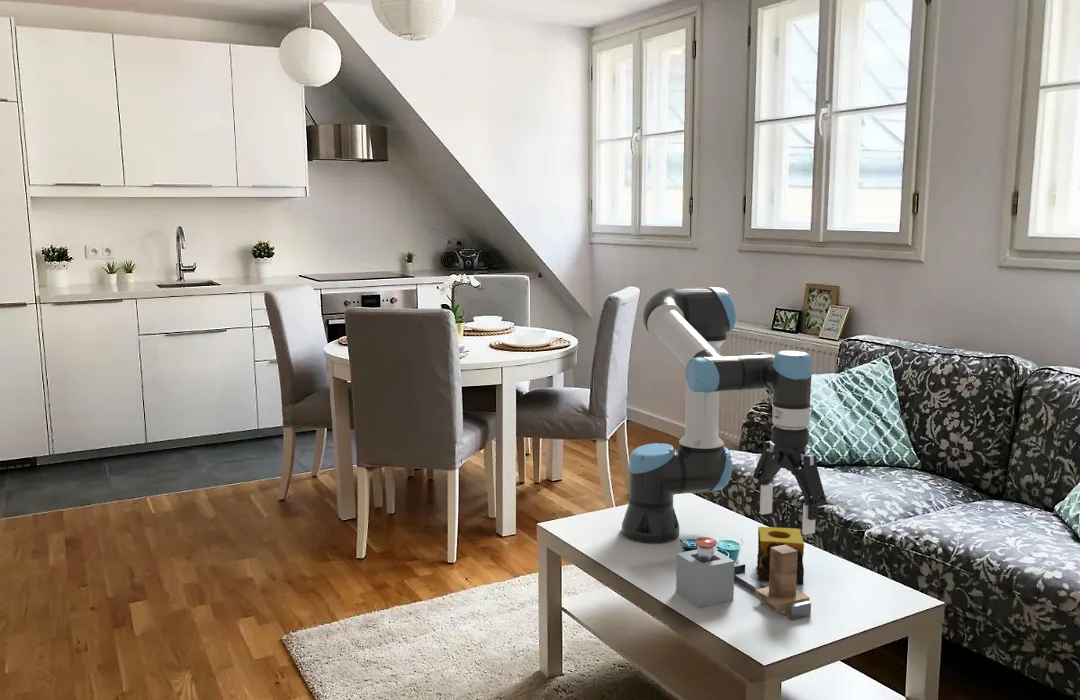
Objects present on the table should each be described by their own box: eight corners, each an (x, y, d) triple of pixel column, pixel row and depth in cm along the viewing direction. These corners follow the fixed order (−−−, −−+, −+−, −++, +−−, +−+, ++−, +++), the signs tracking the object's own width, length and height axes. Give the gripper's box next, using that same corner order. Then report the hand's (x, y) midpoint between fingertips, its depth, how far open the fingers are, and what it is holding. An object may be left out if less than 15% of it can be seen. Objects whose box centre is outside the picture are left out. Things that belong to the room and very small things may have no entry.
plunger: (691, 559, 197) (691, 538, 196) (707, 556, 199) (708, 535, 198) (702, 566, 193) (703, 545, 192) (719, 563, 195) (720, 542, 194)
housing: (676, 591, 200) (676, 553, 198) (709, 584, 203) (710, 546, 202) (698, 607, 191) (699, 568, 190) (733, 600, 195) (734, 561, 194)
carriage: (755, 601, 194) (756, 545, 192) (784, 595, 197) (786, 539, 195) (778, 616, 187) (781, 558, 184) (809, 609, 190) (811, 552, 188)
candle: (803, 586, 202) (805, 544, 201) (758, 582, 204) (759, 541, 203) (800, 568, 212) (801, 528, 211) (756, 565, 214) (757, 525, 213)
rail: (724, 578, 206) (725, 566, 206) (742, 575, 208) (742, 562, 208) (791, 620, 185) (792, 607, 185) (810, 616, 187) (811, 602, 187)
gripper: (738, 415, 195) (736, 508, 199) (817, 441, 173) (813, 545, 176) (766, 411, 198) (763, 503, 202) (847, 437, 176) (842, 539, 179)
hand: (786, 523), depth 189 cm, fingers open, 13 cm apart
